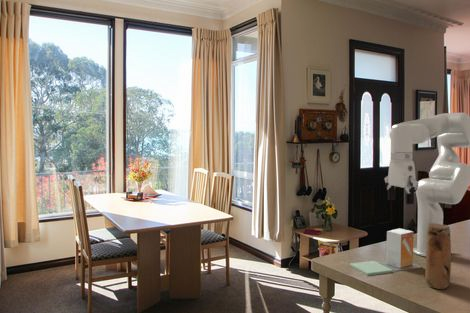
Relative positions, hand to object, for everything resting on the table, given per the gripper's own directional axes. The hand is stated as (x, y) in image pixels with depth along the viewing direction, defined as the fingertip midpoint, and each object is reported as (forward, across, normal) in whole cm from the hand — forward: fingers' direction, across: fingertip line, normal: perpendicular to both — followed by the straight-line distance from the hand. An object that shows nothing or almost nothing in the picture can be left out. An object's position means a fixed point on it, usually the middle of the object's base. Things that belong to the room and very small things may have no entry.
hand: (400, 201), depth 148 cm
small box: (+24, 0, 0) cm, 25 cm away
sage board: (+25, 0, +13) cm, 28 cm away
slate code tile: (+24, 0, 0) cm, 25 cm away
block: (+25, -20, +1) cm, 32 cm away
